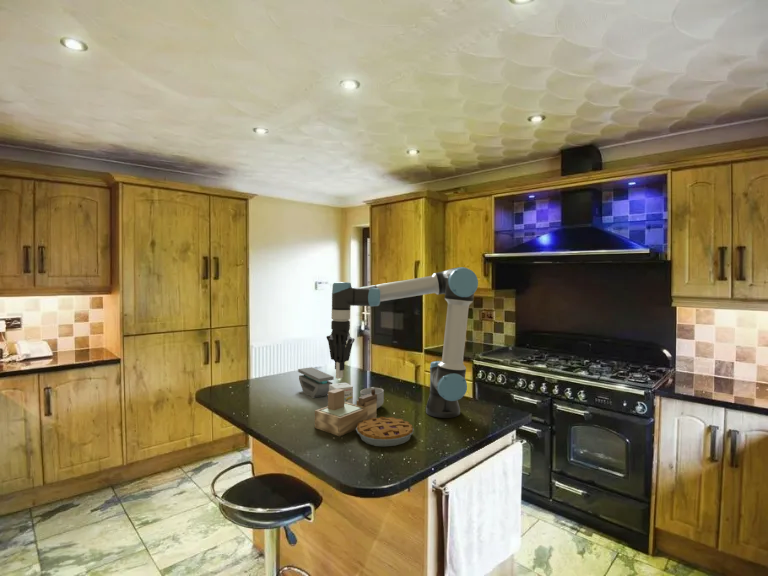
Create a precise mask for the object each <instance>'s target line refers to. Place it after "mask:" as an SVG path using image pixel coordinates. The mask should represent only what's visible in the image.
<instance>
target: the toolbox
mask: <svg viewBox="0 0 768 576" xmlns="http://www.w3.org/2000/svg"><path fill="white" fill-rule="evenodd" d="M344 403H345V404H348V405H352V406H356V407H360V408H362V409H360V410H357V411H355V412H352V413H349V414H347V415H344V416H341V417H338V416H335V415H332V414H328V413H325V412H322V411H321V410H324V409H326V408H328V405H327V406H324V407H322V408H318V409H315V410H314V429H316V430H320V431H323V432H326V433H328V434H331V435H334V436H338V437H342V436H344V435H347V434H349V433H351V432H354V431H356V428H357V426H358V423H362V421H363V420H370V418H377V413H378V412H377V409H378V408H377V399H373V400H370V401H368V402H365V403H364V406H361V405H359V399H357V400H356V404H354V403H353V404H351V403H347V402H344Z"/></svg>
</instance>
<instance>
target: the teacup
mask: <svg viewBox="0 0 768 576" xmlns="http://www.w3.org/2000/svg"><path fill="white" fill-rule="evenodd" d="M371 389H375V394H377V409H379V408H381V406H383V405H384V401H385V400H384V392H385V390H384V389H383V388H380V387H375V386H372V387H366V388H364V389H361V390H360V391H359V393H360V397H362V396H365V395H368V394H371Z"/></svg>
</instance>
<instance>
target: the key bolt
mask: <svg viewBox="0 0 768 576" xmlns="http://www.w3.org/2000/svg"><path fill="white" fill-rule="evenodd" d="M373 399H377V394H375V389H371V394H368V395H365V396H362V397H361V396H360V397H358V400H359V405H361V406H364V403H365V402H368V401H370V400H373Z"/></svg>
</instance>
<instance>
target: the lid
mask: <svg viewBox="0 0 768 576" xmlns="http://www.w3.org/2000/svg"><path fill="white" fill-rule="evenodd" d="M327 406H328V408H326V409H324V410H321V411H322V412H325V413H328V414H332V415H335V416H338V417H341V416H344V415H347V414H349V413H352V412H355V411H357V410H360V409H362V408H360V407H356V406H352V405H348V404H345V403H344V390H343V389H339V388H338V389H335V390H331V391H328V395H327Z"/></svg>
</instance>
